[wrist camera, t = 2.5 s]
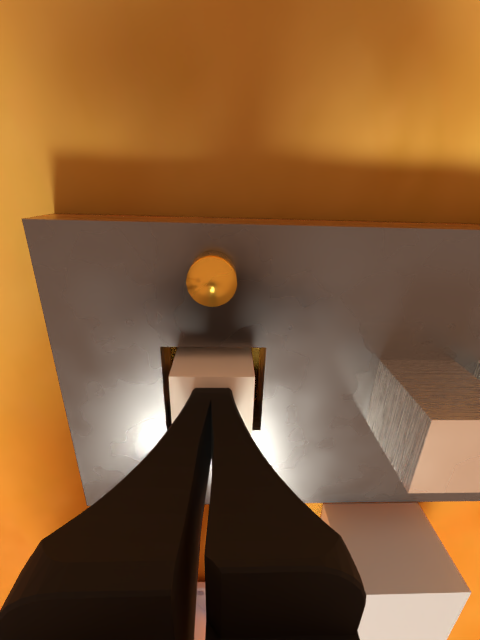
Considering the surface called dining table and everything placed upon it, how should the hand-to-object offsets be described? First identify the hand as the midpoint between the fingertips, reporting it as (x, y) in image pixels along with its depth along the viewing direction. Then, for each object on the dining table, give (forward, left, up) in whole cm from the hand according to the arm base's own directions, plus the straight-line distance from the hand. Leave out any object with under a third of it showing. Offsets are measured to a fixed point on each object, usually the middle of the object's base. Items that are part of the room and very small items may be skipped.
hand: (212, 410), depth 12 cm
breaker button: (0, 0, -3) cm, 3 cm away
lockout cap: (+9, -12, -3) cm, 15 cm away
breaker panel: (+4, 0, -3) cm, 5 cm away
